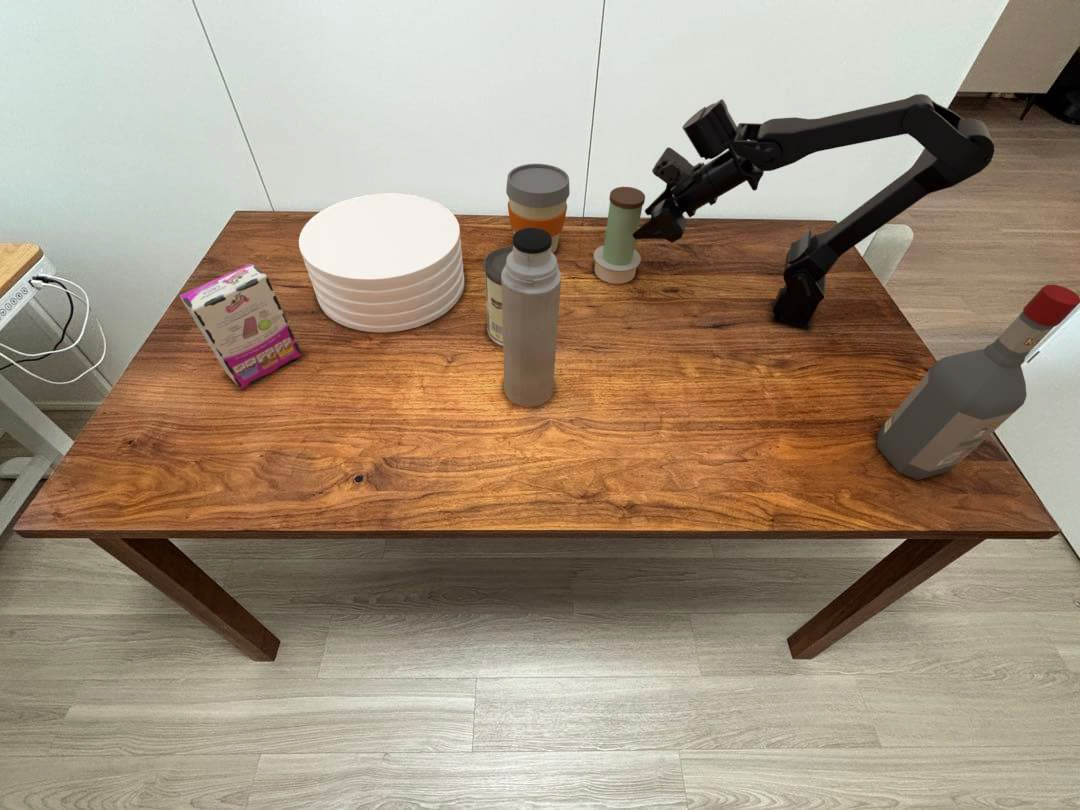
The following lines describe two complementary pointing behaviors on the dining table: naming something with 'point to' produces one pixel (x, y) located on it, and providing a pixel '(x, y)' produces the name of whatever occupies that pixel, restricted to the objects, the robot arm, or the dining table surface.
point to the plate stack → (384, 261)
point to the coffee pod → (615, 268)
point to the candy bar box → (243, 324)
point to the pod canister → (622, 224)
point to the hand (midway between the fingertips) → (640, 224)
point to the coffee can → (495, 291)
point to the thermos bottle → (530, 317)
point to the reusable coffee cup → (538, 199)
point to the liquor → (969, 393)
